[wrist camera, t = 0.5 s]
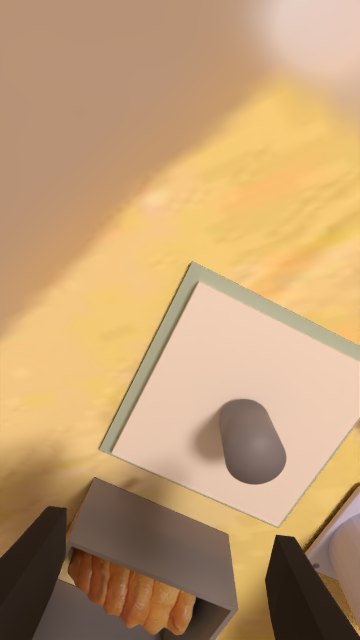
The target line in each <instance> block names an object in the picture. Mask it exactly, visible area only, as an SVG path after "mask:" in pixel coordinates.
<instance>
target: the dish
mask: <svg viewBox="0 0 360 640" xmlns="http://www.w3.org/2000/svg"><path fill="white" fill-rule="evenodd" d="M71 546H72V547H75V548H77V549H80V550H82V551H85V552H87V553H90V554H92V555H95V556H97V557H100V558H102V559H105V560H107V561H110V562H112V563H114V564H117V565H119V566H122V567H124V568H127V569H129V570H132V571H134V572H137V573H139V574H142V575H144V576H147V577H149V578H152V579H154V580H156V581H159V582H161V583H164V584H166V585H169V586H171V587H174V588H176V589H179V590H181V591H184V592H186V593H189V594H191V595H193V596H196V600H195V603H194V605H193V612H192V617H191V620H190V622H189V624H188V626H187V628H186V630H185V632H184V633H183V634H181V635H175V634H174V633H172V632H171V631H170V630H169V629H167V628H162V629H161V630H160V631H159V632H158V633H157V634H155V635H151V634H149V633H148V632H147V631H146V630H145V629H144V628H143V627H142V626H141V625H139V624H138V625H136V626H134V627H133V628H127V627H126V625H125V623H124V621H123V620H122V619H121V618H119V617H118V616H116V615H108V614H106V613H105V611H104V608H103V606H101V605H99V604H95V603H93V602H91V601H90V600H89V599H88V596H87V594H85V593H84V592H82V591H81V590H80V589H79V588H78V587H76V586H73V585H71V584H68V583H66V582H63V581H61V580H58V579H57V581H56V584H55V587H54V590H53V593H52V595H51V597H50V600H49V602H48V604H47V607H46V609H45V611H44V613H43V616H42V618H41V620H40V622H39V625H38V627H37V629H36V631H35V634H34V636H33V638H32V640H215V639H216V638H217V636H218V635H219V634H220V632H221V631H222V630H223V628H224V627H225V626H226V625H227V623H228V622H229V621H230V619H231V618H232V617H233V616H234V614H235V613H236V612H237V610H238V604H237V596H236V589H235V581H234V574H233V566H232V559H231V551H230V544H229V536H228V534H226V533H224V532H221V531H219V530H217V529H214V528H212V527H210V526H207V525H205V524H203V523H200V522H198V521H196V520H193V519H191V518H189V517H186V516H184V515H182V514H179V513H177V512H175V511H172V510H170V509H168V508H165V507H163V506H161V505H158V504H156V503H154V502H151V501H149V500H147V499H144V498H142V497H140V496H137V495H135V494H132V493H130V492H128V491H125V490H123V489H121V488H118V487H116V486H114V485H111V484H109V483H107V482H104V481H102V480H100V479H97V478H94V480H93V482H92V484H91V486H90V488H89V490H88V492H87V494H86V496H85V497H84V499H83V501H82V503H81V505H80V507H79V509H78V511H77V513H76V515H75V517H74V519H73V521H72V523H71V525H70V527H69V529H68V531H67V533H66V555H65V558H66V556H67V554H68V552H69V550H70V548H71ZM65 558H64V560H65ZM63 562H64V561H63Z"/></svg>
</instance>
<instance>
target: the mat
mask: <svg viewBox="0 0 360 640" xmlns="http://www.w3.org/2000/svg"><path fill="white" fill-rule="evenodd" d="M198 281H201V282H203V283H205V284H207V285H209V286H211V287H212V288H214V289H216V290H218V291H220V292H222V293H224V294H226V295H228V296H230V297H232V298H234V299H236V300H238V301H240V302H242V303H244V304H246V305H248V306H250V307H252V308H254V309H256V310H258V311H260V312H262V313H264V314H266V315H268V316H270V317H272V318H274V319H276V320H278V321H280V322H282V323H284V324H286V325H288V326H290V327H292V328H294V329H296V330H298V331H300V332H302V333H304V334H306V335H308V336H310V337H312V338H314V339H316V340H318V341H320V342H322V343H324V344H326V345H328V346H330V347H332V348H334V349H336V350H338V351H340V352H342V353H344V354H346V355H348V356H350V357H352V358H354V359H356V360H358V361H360V346H359V345H357V344H355V343H353V342H351V341H349V340H347V339H345V338H343V337H341V336H339V335H337V334H335V333H333V332H331V331H329V330H327V329H325V328H323V327H321V326H319V325H317V324H315V323H313V322H311V321H309V320H307V319H305V318H304V317H302V316H300V315H298V314H296V313H294V312H292V311H290V310H288V309H286V308H284V307H282V306H280V305H278V304H276V303H274V302H272V301H270V300H268V299H266V298H264V297H262V296H260V295H258V294H256V293H254V292H252V291H250V290H248V289H246V288H244V287H242V286H240V285H238V284H236V283H235V282H233V281H231V280H229V279H227V278H225V277H223V276H221V275H219V274H217V273H215V272H213V271H211V270H209V269H207V268H205V267H203V266H201V265H199V264H197V263H195V262H193V261H192V263H191V265H190V267H189V269H188V271H187V273H186V275H185V277H184V279H183V281H182V283H181V285H180V287H179V289H178V291H177V293H176V295H175V297H174V299H173V301H172V303H171V305H170V308H169V310H168V312H167V314H166V316H165V318H164V320H163V322H162V324H161V326H160V328H159V330H158V332H157V334H156V336H155V338H154V340H153V342H152V344H151V346H150V348H149V350H148V352H147V354H146V356H145V358H144V360H143V362H142V364H141V366H140V368H139V370H138V372H137V374H136V376H135V378H134V380H133V382H132V384H131V386H130V388H129V390H128V392H127V394H126V396H125V398H124V400H123V402H122V404H121V406H120V408H119V410H118V412H117V414H116V416H115V418H114V420H113V422H112V425H111V427H110V429H109V431H108V433H107V435H106V437H105V439H104V441H103V443H102V445H101V447H100V449H99V450H100V451H102V452H105V453H107V454H109V455H112V456H114V457H116V458H118V459H121V460H123V461H125V462H128V463H130V464H132V465H134V466H137V467H139V468H141V469H144V470H146V471H148V472H150V473H153V474H155V475H157V476H160V477H162V478H164V479H167V478H165V477H163V476H161V475H158V474H156V473H154V472H151V471H149V470H147V469H145V468H142V467H140V466H138V465H135V464H133V463H131V462H129V461H126V460H124V459H122V458H119V457H117V456H115V455H113V454H111V453H112V451H113V448H114V446H115V444H116V442H117V440H118V438H119V436H120V434H121V432H122V430H123V428H124V426H125V424H126V422H127V420H128V418H129V416H130V414H131V412H132V410H133V408H134V406H135V404H136V402H137V400H138V399H139V397H140V395H141V393H142V391H143V389H144V387H145V385H146V383H147V381H148V379H149V377H150V375H151V373H152V371H153V369H154V367H155V365H156V363H157V361H158V359H159V357H160V355H161V353H162V351H163V350H164V348H165V346H166V344H167V342H168V340H169V338H170V336H171V334H172V332H173V330H174V328H175V326H176V324H177V322H178V320H179V318H180V316H181V314H182V312H183V310H184V308H185V306H186V304H187V302H188V300H189V299H190V297H191V295H192V293H193V291H194V289H195V287H196V285H197V283H198ZM359 420H360V417H359V419H358V420H357V421H356V423H355V424H354V425H353V427H352V428H351V429H350V431H349V432H348V433H347V435H346V436H345V438H344V439H343V440H342V442H341V443H340V444H339V446H338V447H337V448H336V450H335V451H334V452H333V454H332V455H331V456H330V458H329V459H328V460H327V462H326V463H325V464H324V466H323V467H322V468H321V470H320V471H319V472H318V474H317V475H316V476H315V478H314V479H313V480H312V482H311V483H310V484H309V486H308V487H307V488H306V490H305V491H304V493H303V494H302V495H301V497H300V498H299V499H298V501H297V502H296V503H295V505H294V506H293V507H292V509H291V510H290V511H289V513H288V514H287V515H286V517H285V518H284V519H283V521H282V522H281V523H280V525H279V526H278V527H277V526H275V525H273V524H270V523H268V522H266V521H263V520H261V519H259V518H257V517H254V516H252V515H250V514H247V513H245V512H243V511H241V510H238V509H236V508H234V507H231V506H229V505H227V504H225V503H222V502H220V501H218V500H215V499H213V498H211V497H209V496H206V495H204V494H202V493H199V492H197V491H195V490H193V489H190V488H188V487H186V486H183V485H181V484H179V483H177V482H174V481H172V480H170V479H167V480H169V481H171V482H173V483H176V484H178V485H180V486H183V487H185V488H187V489H189V490H192V491H194V492H196V493H199V494H201V495H203V496H205V497H208V498H210V499H212V500H215V501H217V502H219V503H221V504H224V505H226V506H228V507H231V508H233V509H235V510H237V511H240V512H242V513H244V514H247V515H249V516H251V517H253V518H256V519H258V520H260V521H263V522H265V523H267V524H270V525H272V526H274V527H276V528H279V527H280V526H281V524H282V523H283V522H284V520H285V519H286V518H287V516H288V515H289V514H290V512H291V511H292V510H293V508H294V507H295V506H296V504H297V503H298V502H299V500H300V499H301V498H302V496H303V495H304V494H305V492H306V491H307V490H308V488H309V487H310V486H311V484H312V483H313V482H314V480H315V479H316V478H317V476H318V475H319V474H320V472H321V471H322V470H323V468H324V467H325V466H326V464H327V463H328V462H329V460H330V459H331V458H332V456H333V455H334V454H335V452H336V451H337V450H338V448H339V447H340V446H341V444H342V443H343V442H344V440H345V439H346V438H347V436H348V435H349V434H350V432H351V431H352V430H353V428H354V427H355V425H356V424H357V423H358V421H359Z"/></svg>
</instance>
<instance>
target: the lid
mask: <svg viewBox="0 0 360 640" xmlns="http://www.w3.org/2000/svg"><path fill="white" fill-rule="evenodd" d="M359 417H360V361H358V360H356V359H354V358H352V357H350V356H348V355H346V354H344V353H342V352H340V351H338V350H336V349H334V348H332V347H330V346H328V345H326V344H324V343H322V342H320V341H318V340H316V339H314V338H312V337H310V336H308V335H306V334H304V333H302V332H300V331H298V330H296V329H294V328H292V327H290V326H288V325H286V324H284V323H282V322H280V321H278V320H276V319H274V318H272V317H270V316H268V315H266V314H264V313H262V312H260V311H258V310H256V309H254V308H252V307H250V306H248V305H246V304H244V303H242V302H240V301H238V300H236V299H234V298H232V297H230V296H228V295H226V294H224V293H222V292H220V291H218V290H216V289H214V288H212V287H211V286H209V285H207V284H205V283H203V282H201V281H198V283H197V285H196V287H195V289H194V291H193V293H192V295H191V297H190V299H189V300H188V302H187V304H186V306H185V308H184V310H183V312H182V314H181V316H180V318H179V320H178V322H177V324H176V326H175V328H174V330H173V332H172V334H171V336H170V338H169V340H168V342H167V344H166V346H165V348H164V350H163V351H162V353H161V355H160V357H159V359H158V361H157V363H156V365H155V367H154V369H153V371H152V373H151V375H150V377H149V379H148V381H147V383H146V385H145V387H144V389H143V391H142V393H141V395H140V397H139V399H138V400H137V402H136V404H135V406H134V408H133V410H132V412H131V414H130V416H129V418H128V420H127V422H126V424H125V426H124V428H123V430H122V432H121V434H120V436H119V438H118V440H117V442H116V444H115V446H114V448H113V451H112V453H111V454H113V455H115V456H117V457H119V458H122V459H124V460H126V461H129V462H131V463H133V464H135V465H138V466H140V467H142V468H145V469H147V470H149V471H151V472H154V473H156V474H158V475H161V476H163V477H165V478H167V479H170V480H172V481H174V482H177V483H179V484H181V485H183V486H186V487H188V488H190V489H193V490H195V491H197V492H199V493H202V494H204V495H206V496H209V497H211V498H213V499H215V500H218V501H220V502H222V503H225V504H227V505H229V506H231V507H234V508H236V509H238V510H241V511H243V512H245V513H247V514H250V515H252V516H254V517H257V518H259V519H261V520H263V521H266V522H268V523H270V524H273V525H275V526H277V527H278V526H279V525H280V523H281V522H282V521H283V519H284V518H285V517H286V515H287V514H288V513H289V511H290V510H291V509H292V507H293V506H294V505H295V503H296V502H297V501H298V499H299V498H300V497H301V495H302V494H303V493H304V491H305V490H306V488H307V487H308V486H309V484H310V483H311V482H312V480H313V479H314V478H315V476H316V475H317V474H318V472H319V471H320V470H321V468H322V467H323V466H324V464H325V463H326V462H327V460H328V459H329V458H330V456H331V455H332V454H333V452H334V451H335V450H336V448H337V447H338V446H339V444H340V443H341V442H342V440H343V439H344V438H345V436H346V435H347V433H348V432H349V431H350V429H351V428H352V427H353V425H354V424H355V423H356V421H357V420H358V419H359Z"/></svg>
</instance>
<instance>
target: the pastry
mask: <svg viewBox="0 0 360 640" xmlns="http://www.w3.org/2000/svg"><path fill="white" fill-rule="evenodd" d="M68 574H69V575H70V576H71V578H72V579H73V580H74V582H75V585H76V586H77V587H78V588H79V589H80V590H81V591H82V592H84V593H85V594H87V596H88V599H89V600H90V601H91V602H93V603H95V604H99V605H101V606H103V608H104V611H105V613H106V614H108V615H116V616H118V617H119V618H121V619H122V620H123V621H124V623H125V625H126V627H127V628H133V627H134V626H136V625H138V624H139V625H141V626H142V627H143V628H144V629H145V630H146V631H147V632H148V633H149V634H151V635H155V634H157V633H158V632H159V631H160V630H161V629H162V628H167V629H169V630H170V631H171V632H172V633H174V634H175V635H181V634H183V633H184V632H185V630H186V628H187V626H188V624H189V622H190V620H191V617H192V612H193V605H194V603H195V600H196V596H193V595H191V594H189V593H186V592H184V591H181V590H179V589H176V588H174V587H171V586H169V585H166V584H164V583H161V582H159V581H156V580H154V579H152V578H149V577H147V576H144V575H142V574H139V573H137V572H134V571H132V570H129V569H127V568H124V567H122V566H119V565H117V564H114V563H112V562H110V561H107V560H105V559H102V558H100V557H97V556H95V555H92V554H90V553H87V552H85V551H82V550H80V549H77V548H74V552H73V556H72V559H71V561H70V564H69V567H68Z"/></svg>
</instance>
